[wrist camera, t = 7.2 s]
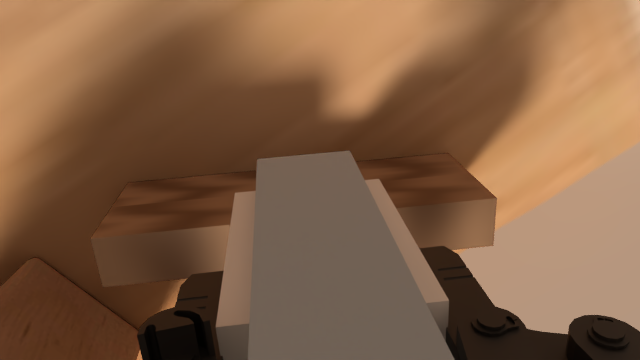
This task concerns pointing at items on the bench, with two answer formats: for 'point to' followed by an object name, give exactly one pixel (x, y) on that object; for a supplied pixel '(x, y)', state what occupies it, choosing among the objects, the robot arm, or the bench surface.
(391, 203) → the robot arm
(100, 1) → the bench surface
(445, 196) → the slotted beam
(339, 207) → the notched plate
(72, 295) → the wooden block
